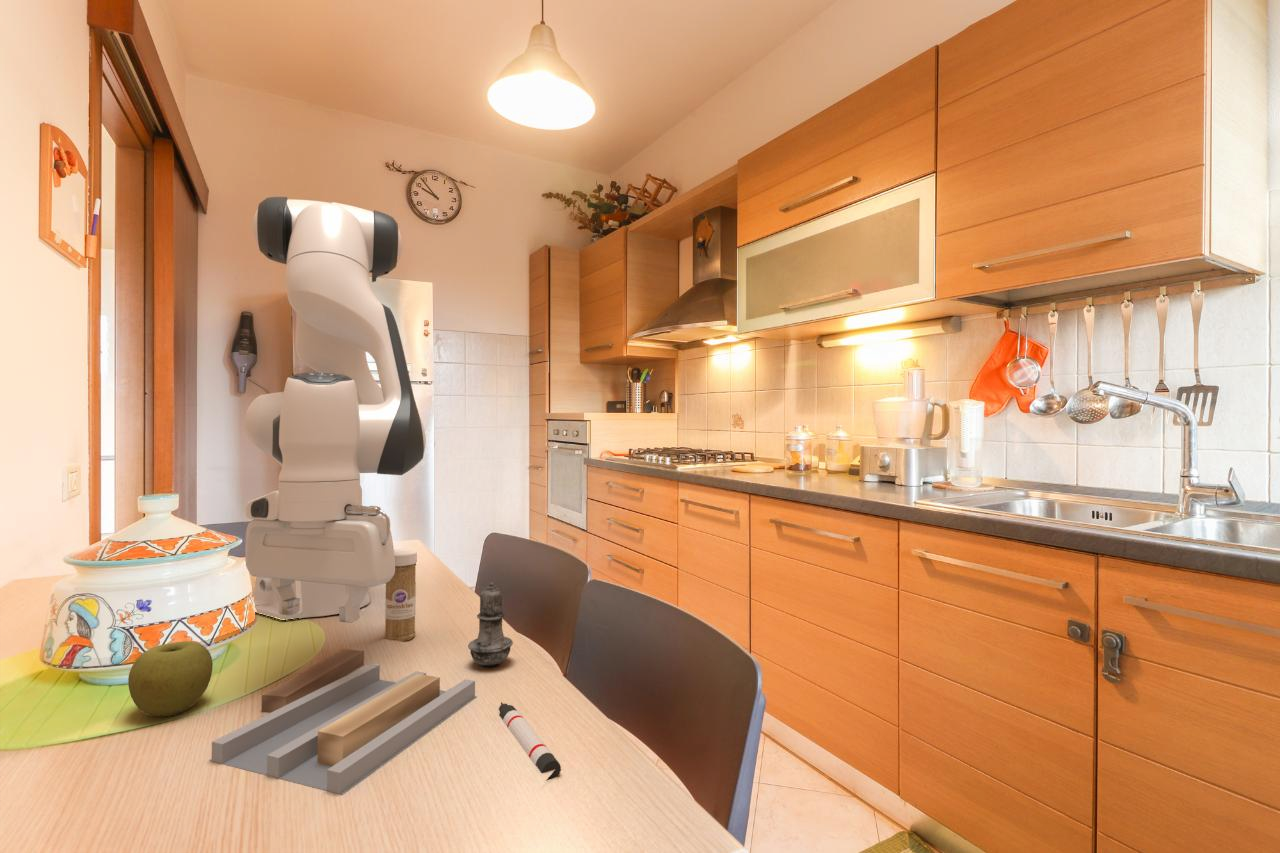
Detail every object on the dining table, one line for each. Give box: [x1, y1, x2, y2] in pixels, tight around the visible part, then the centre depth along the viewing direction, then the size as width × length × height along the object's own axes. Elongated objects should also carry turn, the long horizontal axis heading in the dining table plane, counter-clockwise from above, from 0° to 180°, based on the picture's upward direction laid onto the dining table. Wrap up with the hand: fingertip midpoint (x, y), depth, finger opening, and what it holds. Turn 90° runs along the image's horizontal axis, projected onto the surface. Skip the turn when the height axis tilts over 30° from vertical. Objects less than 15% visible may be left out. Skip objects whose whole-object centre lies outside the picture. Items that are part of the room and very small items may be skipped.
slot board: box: [208, 663, 478, 796], centre depth 63 cm, size 16×20×3 cm
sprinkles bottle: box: [383, 548, 418, 642], centre depth 92 cm, size 5×5×14 cm
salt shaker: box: [467, 580, 514, 669], centre depth 80 cm, size 6×6×12 cm
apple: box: [127, 640, 214, 717], centre depth 68 cm, size 8×8×7 cm
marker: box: [498, 701, 562, 781], centre depth 61 cm, size 15×2×2 cm, turn 31°
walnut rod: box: [261, 649, 365, 714], centre depth 72 cm, size 3×14×3 cm, turn 171°
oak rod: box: [317, 674, 441, 767], centre depth 62 cm, size 3×14×3 cm, turn 161°
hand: (318, 617), depth 72 cm, fingers open, 8 cm apart
